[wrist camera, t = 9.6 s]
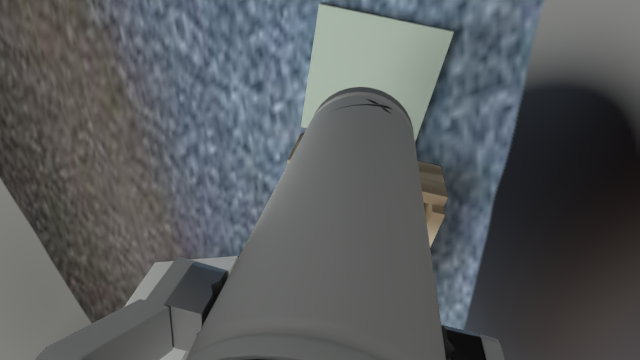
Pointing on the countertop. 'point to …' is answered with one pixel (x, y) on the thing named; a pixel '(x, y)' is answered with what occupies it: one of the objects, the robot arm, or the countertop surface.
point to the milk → (176, 356)
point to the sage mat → (374, 59)
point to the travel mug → (336, 249)
